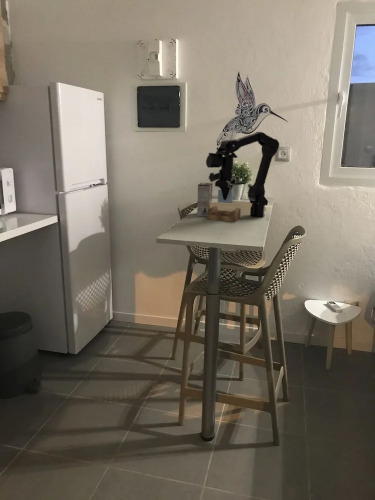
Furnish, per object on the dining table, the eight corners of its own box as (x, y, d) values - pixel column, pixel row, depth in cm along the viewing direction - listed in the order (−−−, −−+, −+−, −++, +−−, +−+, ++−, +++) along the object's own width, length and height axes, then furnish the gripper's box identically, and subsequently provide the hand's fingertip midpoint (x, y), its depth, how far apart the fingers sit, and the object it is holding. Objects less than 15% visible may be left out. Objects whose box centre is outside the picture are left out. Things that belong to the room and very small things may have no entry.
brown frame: (240, 218, 201) (240, 208, 199) (235, 221, 192) (236, 211, 190) (213, 215, 205) (213, 205, 204) (207, 219, 196) (208, 209, 195)
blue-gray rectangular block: (232, 202, 196) (233, 190, 194) (231, 203, 194) (232, 191, 193) (218, 201, 198) (219, 189, 197) (217, 202, 196) (218, 190, 195)
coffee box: (199, 212, 212) (200, 182, 207) (211, 213, 211) (213, 183, 206) (196, 215, 203) (197, 184, 199) (209, 216, 202) (210, 185, 197)
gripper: (216, 165, 202) (214, 195, 207) (205, 167, 186) (203, 201, 190) (237, 166, 199) (235, 197, 203) (228, 169, 182) (226, 202, 186)
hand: (225, 199), depth 196 cm, fingers closed on blue-gray rectangular block, 2 cm apart
